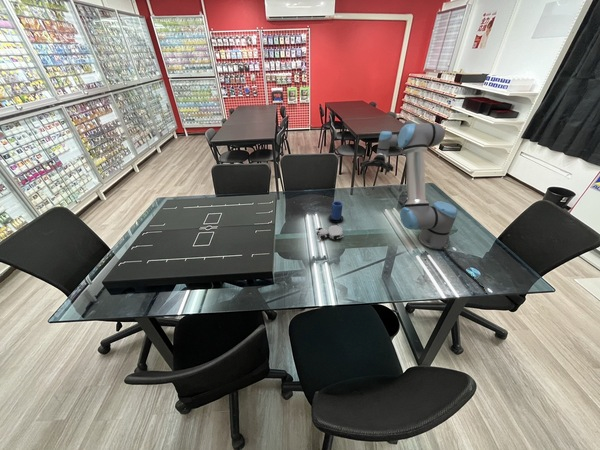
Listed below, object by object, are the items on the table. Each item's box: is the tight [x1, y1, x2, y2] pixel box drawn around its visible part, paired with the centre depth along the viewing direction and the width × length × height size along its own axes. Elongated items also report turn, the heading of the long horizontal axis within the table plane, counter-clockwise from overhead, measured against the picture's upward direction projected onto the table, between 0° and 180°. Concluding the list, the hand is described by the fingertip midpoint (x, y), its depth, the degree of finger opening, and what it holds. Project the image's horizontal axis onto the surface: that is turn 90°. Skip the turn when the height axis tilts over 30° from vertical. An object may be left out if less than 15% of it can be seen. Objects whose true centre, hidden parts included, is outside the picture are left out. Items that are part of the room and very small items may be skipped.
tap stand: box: [328, 214, 344, 225], centre depth 156 cm, size 9×9×10 cm
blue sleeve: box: [330, 200, 344, 220], centre depth 155 cm, size 6×6×10 cm
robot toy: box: [315, 223, 344, 241], centre depth 143 cm, size 12×4×15 cm
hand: (373, 171), depth 148 cm, fingers open, 13 cm apart
